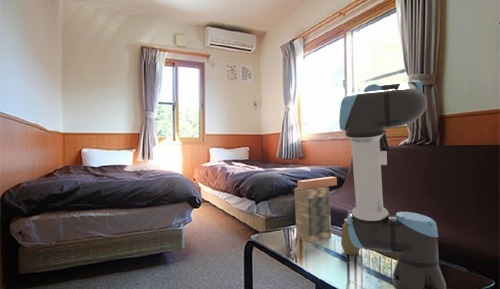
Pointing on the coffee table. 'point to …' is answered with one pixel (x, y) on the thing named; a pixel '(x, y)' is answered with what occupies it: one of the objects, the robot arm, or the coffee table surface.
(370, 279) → the coffee table surface
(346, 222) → the squeeze bottle
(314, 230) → the stand
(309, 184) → the rail
